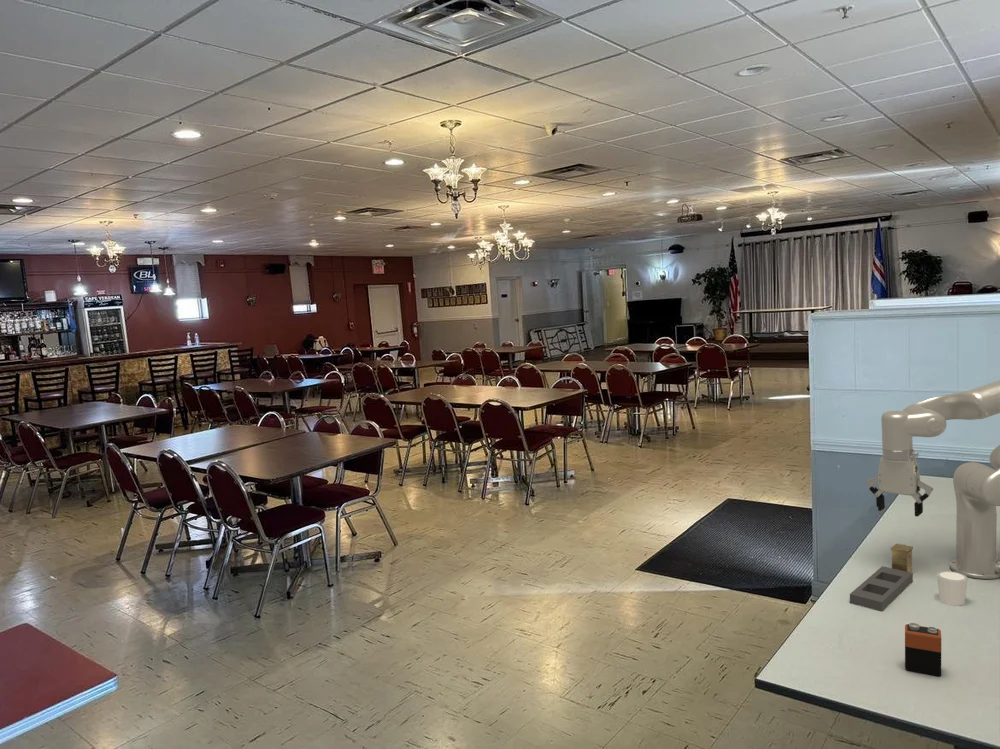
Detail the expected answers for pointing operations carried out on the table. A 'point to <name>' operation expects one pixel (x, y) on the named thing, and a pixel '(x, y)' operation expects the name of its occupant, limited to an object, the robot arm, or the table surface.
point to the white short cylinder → (952, 587)
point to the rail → (881, 588)
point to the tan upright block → (902, 557)
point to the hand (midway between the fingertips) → (899, 512)
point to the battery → (922, 649)
